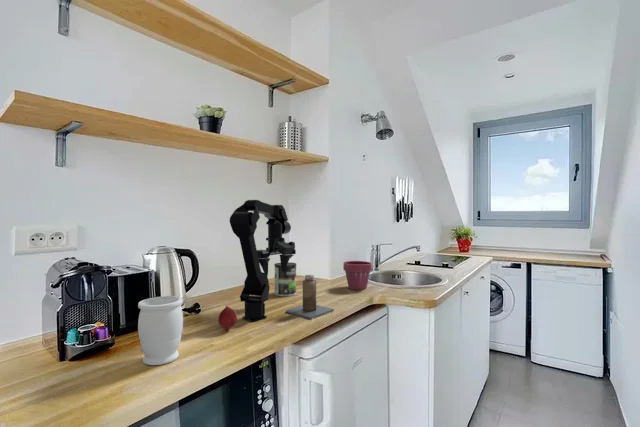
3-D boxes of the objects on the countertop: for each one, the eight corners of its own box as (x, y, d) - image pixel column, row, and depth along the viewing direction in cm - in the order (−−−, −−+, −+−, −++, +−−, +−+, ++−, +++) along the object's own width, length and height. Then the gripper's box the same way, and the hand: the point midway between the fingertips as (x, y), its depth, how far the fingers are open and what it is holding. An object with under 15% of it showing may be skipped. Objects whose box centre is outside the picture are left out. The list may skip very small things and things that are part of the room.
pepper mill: (309, 312, 119) (309, 277, 120) (299, 309, 123) (299, 275, 123) (319, 309, 123) (319, 275, 123) (309, 306, 127) (309, 273, 127)
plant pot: (368, 284, 171) (368, 260, 171) (374, 290, 157) (374, 264, 157) (341, 285, 170) (341, 260, 170) (345, 291, 156) (345, 264, 156)
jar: (132, 358, 83) (132, 300, 83) (174, 347, 91) (173, 293, 91) (145, 372, 76) (145, 308, 76) (189, 358, 83) (189, 300, 83)
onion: (240, 328, 105) (240, 304, 105) (227, 334, 100) (227, 308, 100) (227, 325, 108) (227, 301, 108) (214, 331, 103) (214, 306, 103)
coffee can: (301, 293, 153) (300, 263, 153) (285, 297, 144) (285, 266, 145) (285, 290, 159) (284, 261, 159) (269, 294, 151) (269, 264, 151)
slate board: (311, 319, 114) (311, 317, 114) (285, 312, 122) (285, 310, 123) (333, 311, 124) (333, 309, 124) (309, 305, 132) (309, 303, 132)
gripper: (270, 237, 120) (270, 279, 120) (304, 234, 134) (305, 272, 134) (251, 236, 127) (252, 275, 127) (286, 234, 142) (286, 269, 142)
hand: (275, 273), depth 132 cm, fingers open, 9 cm apart
